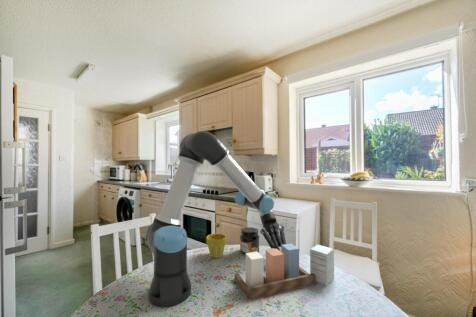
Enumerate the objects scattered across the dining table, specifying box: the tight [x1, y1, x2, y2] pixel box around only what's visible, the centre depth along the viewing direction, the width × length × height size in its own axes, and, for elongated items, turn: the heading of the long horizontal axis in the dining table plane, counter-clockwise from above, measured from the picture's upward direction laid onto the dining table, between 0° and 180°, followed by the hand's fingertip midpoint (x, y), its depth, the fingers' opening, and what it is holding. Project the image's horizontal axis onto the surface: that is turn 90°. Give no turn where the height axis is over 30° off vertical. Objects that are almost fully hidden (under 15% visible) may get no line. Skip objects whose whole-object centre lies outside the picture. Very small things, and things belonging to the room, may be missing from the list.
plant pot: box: [205, 233, 227, 259], centre depth 113 cm, size 10×10×10 cm
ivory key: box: [245, 252, 265, 287], centre depth 85 cm, size 5×6×12 cm
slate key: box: [281, 243, 300, 278], centre depth 93 cm, size 5×6×12 cm
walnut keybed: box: [234, 265, 316, 301], centre depth 88 cm, size 29×14×4 cm, turn 110°
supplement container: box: [239, 226, 260, 256], centre depth 117 cm, size 10×10×12 cm
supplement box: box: [309, 244, 335, 286], centre depth 91 cm, size 7×7×13 cm
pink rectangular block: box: [265, 248, 284, 282], centre depth 88 cm, size 5×6×12 cm
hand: (284, 262), depth 98 cm, fingers closed
